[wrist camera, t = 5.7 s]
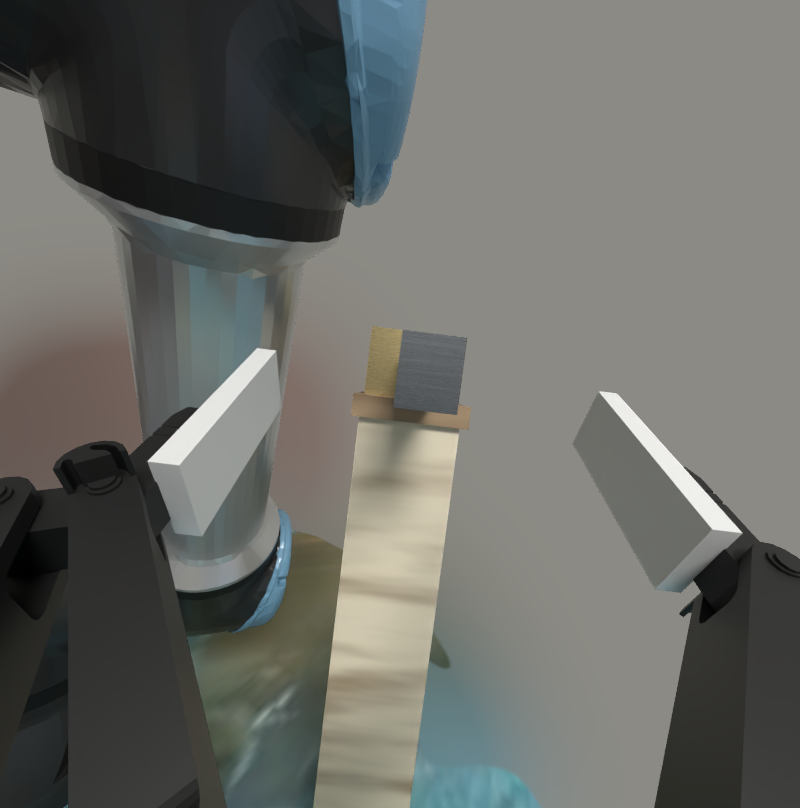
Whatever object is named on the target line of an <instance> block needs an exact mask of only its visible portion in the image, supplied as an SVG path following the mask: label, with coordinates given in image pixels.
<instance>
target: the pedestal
mask: <svg viewBox="0 0 800 808" xmlns="http://www.w3.org/2000/svg"><path fill="white" fill-rule="evenodd" d="M393 404H394V397H389V396H381V395H372V394H364V392H359V393H354V395H353V404H352V412H351V415H352V416H359V423H358V431H357V439H356V447H355V456H354V465H353V473H352V481H351V490H350V498H349V507H348V515H347V524H346V533H345V541H344V549H343V558H342V566H341V575H340V583H339V592H338V600H337V609H336V617H335V626H334V634H333V643H332V651H331V660H330V668H329V677H328V685H327V694H326V702H325V711H324V719H323V728H322V736H321V745H320V753H319V762H318V770H317V779H316V787H315V796H314V804H313V808H409V807H410V799H411V792H412V784H413V777H414V769H415V761H416V754H417V746H418V739H419V731H420V724H421V716H422V708H423V701H424V692H425V686H426V677H427V670H428V663H429V656H430V648H431V640H432V633H433V625H434V618H435V610H436V602H437V594H438V588H439V580H440V571H441V564H442V557H443V550H444V542H445V534H446V527H447V519H448V512H449V504H450V497H451V489H452V482H453V474H454V467H455V459H456V451H457V443H458V436H459V429H467V430H468V428H469V420H470V412H471V408H470V407H467V406H463V405H460V404H458V411H457V415H451V414H443V413H435V412H427V411H419V410H410V409H402V408H394V407H393Z"/></svg>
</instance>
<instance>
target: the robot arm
mask: <svg viewBox="0 0 800 808" xmlns="http://www.w3.org/2000/svg"><path fill="white" fill-rule="evenodd" d="M426 6H427V0H0V87H3V88H6V89H9V90H12V91H15V92H19V93H21V94H24V95H27V96H30V97H33V98H36V99H38V101H39V104H40V108H41V111H42V115H43V119H44V124H45V128H46V133H47V137H48V143H49V147H50V152H51V156H52V160H53V165H54V169H55V172H56V173H57V175H58V176H59V177H60V178H61V179H62V180H63V181H64V182H65V183H66V184H68V185H69V186H70V187H71V188H72V189H73V190H75V191H76V192H77V193H78V194H79V195H80V196H82V197H83V198H84V199H85V200H86V201H87V202H89V203H90V204H91V205H92V206H93V207H94V208H96V209H97V210H98V211H99V212H100V213H101V214H103V215H104V216H105V217H106V219H107V220H108V221H109V223H110V224H111V225H112V228H113V235H114V241H115V248H116V255H117V262H118V269H119V276H120V283H121V290H122V297H123V303H124V311H125V318H126V325H127V331H128V339H129V346H130V353H131V360H132V367H133V374H134V381H135V387H136V394H137V402H138V409H139V416H140V422H141V429H142V436H143V443H142V444H141V445H140V446H139V447H138V448H137V449H136V450H135V451H134V452H133V453H132V454H130V455H128V452H127V450H126V448H125V447H124V446H123V444H120V443H118V442H115V441H100V442H93V443H89V444H86V445H83V446H80V447H77V448H75V449H73V450H71V451H70V452H68V453H66V454H64V455H63V456H62V457H61V458H60V459H59V460H58V461H57V462H56V463H55V466H54V468H53V471H54V472H55V474H56V476H57V477H58V479H59V481H60V482H61V484H62V486H63V488H57V489H48V490H40V491H37V490H36V489H35V487H34V486H33V484H32V483H31V482H30V481H29V480H28V479H26V478H22V477H5V478H1V479H0V808H63V807H64V806H65V805H66V804H68V808H227V807H226V803H225V798H224V794H223V790H222V786H221V781H220V777H219V773H218V768H217V764H216V760H215V756H214V751H213V747H212V743H211V739H210V734H209V730H208V726H207V721H206V717H205V713H204V709H203V704H202V700H201V696H200V692H199V687H198V683H197V679H196V675H195V670H194V666H193V662H192V657H191V653H190V649H189V645H188V640H187V637H190V636H197V635H205V634H212V633H219V632H227V631H228V632H231V633H234V632H239V631H243V630H244V629H246V628H250V627H256V626H260V625H263V624H265V623H267V622H268V621H270V620H271V619H272V618H273V616H274V615H275V614H276V612H277V610H278V609H279V606H280V604H281V602H282V599H283V596H284V592H285V588H286V576H287V575H288V572H289V567H290V559H291V548H292V531H291V522H290V518H289V516H288V514H287V513H286V512H284V511H283V510H280V509H277V507H276V504H275V503H274V501H273V499H272V498H271V497H270V496H269V495H268V494H269V487H270V481H271V474H272V469H273V462H274V456H275V449H276V443H277V436H278V430H279V424H280V417H281V411H282V405H283V398H284V391H285V385H286V378H287V372H288V366H289V360H290V353H291V347H292V340H293V334H294V327H295V321H296V315H297V308H298V302H299V296H300V290H301V283H302V277H303V270H304V265H305V263H306V262H307V261H308V260H309V259H311V258H313V257H314V256H316V255H318V254H319V253H321V252H323V251H324V250H326V249H327V248H329V247H330V246H332V245H334V244H335V243H337V241H338V238H339V235H340V228H341V223H342V218H343V214H344V209H345V206H346V203H347V202H351V203H352V204H353V205H354V206H356V207H361V206H362V205H372V204H374V203H376V202H377V201H378V200H379V199H380V198H381V197H382V195H383V194H384V192H385V190H386V188H387V186H388V184H389V181H390V178H391V173H392V166H393V161H394V160H396V159H397V157H398V156H399V153H400V149H401V146H402V142H403V138H404V134H405V130H406V126H407V122H408V118H409V113H410V108H411V103H412V98H413V93H414V88H415V82H416V76H417V70H418V64H419V59H420V52H421V45H422V38H423V31H424V23H425V14H426ZM573 445H574V447H575V449H576V450H577V452H578V454H579V456H580V457H581V459H582V461H583V463H584V465H585V466H586V468H587V470H588V472H589V473H590V475H591V477H592V478H593V481H594V482H595V484H596V486H597V488H598V489H599V491H600V493H601V495H602V496H603V498H604V500H605V502H606V504H607V505H608V507H609V509H610V511H611V512H612V514H613V516H614V518H615V519H616V521H617V523H618V525H619V526H620V528H621V530H622V532H623V534H624V535H625V537H626V539H627V541H628V542H629V544H630V546H631V548H632V550H633V551H634V553H635V555H636V557H637V559H638V560H639V562H640V564H641V566H642V567H643V569H644V571H645V573H646V574H647V576H648V578H649V580H650V582H651V583H652V585H653V587H654V588H655V590H662V591H672V592H680V593H681V592H682V591H683V590H684V589H685V588H686V587H687V586H688V585H689V584H690V583H691V582H693V581H694V582H695V583H696V585H697V586H698V588H699V589H700V591H701V593H700V594H699V595H698V596H696V598H694V599H693V600H692V601H691V602H690V603H689V604H688V605H687V606H685V607H684V608H683V609H682V611H681V612H680V613H679V614H680V615H681V616H683V617H684V616H685V615H686V614H687V613H692V614H691V619H690V624H689V629H688V635H687V640H686V645H685V650H684V656H683V661H682V666H681V671H680V676H679V682H678V687H677V692H676V697H675V702H674V708H673V713H672V718H671V723H670V729H669V734H668V739H667V744H666V749H665V755H664V760H663V766H662V770H661V775H660V781H659V786H658V791H657V796H656V802H655V807H654V808H800V559H799V558H798V557H796V556H794V555H793V554H791V553H789V552H788V551H786V550H784V549H782V548H780V547H777V546H775V545H773V544H769V543H763V542H759V540H757V538H756V537H755V536H754V535H753V534H752V533H751V532H750V531H749V530H748V529H747V528H746V526H745V525H744V524H743V523H742V522H741V521H740V520H739V519H738V518H737V517H736V516H735V515H734V514H733V512H732V511H731V510H730V509H729V508H728V507H727V506H726V505H723V502H722V501H721V499H719V497H718V496H717V495H716V494H713V491H712V490H711V489H710V488H709V487H708V485H707V484H706V483H705V482H704V481H703V480H702V479H701V478H700V477H698V476H697V475H695V474H694V473H693V472H691V471H690V470H688V469H687V468H686V467H683V466H682V465H681V464H680V463H679V462H678V461H677V460H676V459H675V457H674V456H673V455H672V454H671V453H670V452H669V451H668V450H667V449H666V447H665V446H664V445H663V444H662V443H661V442H660V441H659V440H658V439H657V437H656V436H655V435H654V434H653V433H652V432H651V431H650V430H649V429H648V428H647V426H646V425H645V424H644V423H643V422H642V421H641V420H640V419H639V417H638V416H637V415H636V414H635V413H634V412H633V411H632V410H631V409H630V407H629V406H628V405H627V404H626V403H625V402H624V401H623V400H622V399H621V397H620V396H619V395H618V394H616V393H608V392H600V391H599V392H598V394H597V395H596V397H595V400H594V401H593V403H592V405H591V407H590V410H589V411H588V414H587V415H586V417H585V419H584V421H583V423H582V426H581V428H580V430H579V432H578V434H577V435H576V437H575V440H574V442H573Z"/></svg>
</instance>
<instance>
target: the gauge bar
mask: <svg viewBox="0 0 800 808" xmlns="http://www.w3.org/2000/svg"><path fill="white" fill-rule="evenodd" d="M466 343H467V338H463V337H456V336H447V335H439V334H432V333H424V332H416V331H408V330H398V329H390V328H382V327H374V326H372V333H371V341H370V350H369V359H368V367H367V376H366V384H365V392H364V394H372V395H381V396H389V397H394V404H393V407H394V408H402V409H410V410H419V411H427V412H435V413H443V414H451V415H457V411H458V404H459V396H460V388H461V381H462V373H463V365H464V358H465V350H466Z"/></svg>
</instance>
